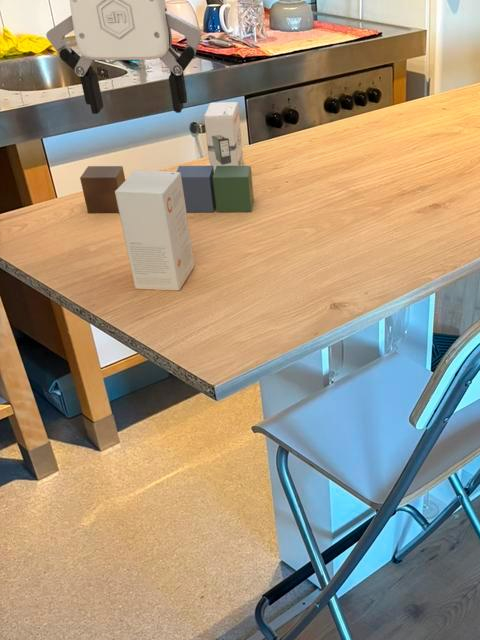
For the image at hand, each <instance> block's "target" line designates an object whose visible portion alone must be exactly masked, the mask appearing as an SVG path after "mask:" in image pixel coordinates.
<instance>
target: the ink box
mask: <svg viewBox="0 0 480 640" xmlns="http://www.w3.org/2000/svg"><path fill="white" fill-rule="evenodd" d="M205 111H206V112H205V113H204V116H203V120H204V128H205V129H204V130H205V137H206V146H207V151H208V152H207V153H208V161H209V166H213V168H214V172H215V169H216V166H245V164H244V153H243V152H244V151H243V143H242V141H243V140H242V131H241V120H240V118H241V117H240V109H239V103H238V102H237V101H227V102H226V101H222V102H221V101H220V102H210V103H209V105H208V107H207V109H206V110H205Z"/></svg>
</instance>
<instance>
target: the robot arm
mask: <svg viewBox="0 0 480 640" xmlns="http://www.w3.org/2000/svg"><path fill="white" fill-rule="evenodd" d="M69 7H70V14H71V15H70V16H68V17H67V18H65V19H64V20H62V21H61V22H59V23H58V24H56V25H55V26H54V27H52V28H50V29H49V30H48V31H47V32H46V34H45V35H46V38H47V40H48V41H49V43H50V44H51V46H52V47H53V48H54V50H55V51H56V52H57V54H58V55H59V58H60V59H61V61H63V62H64V63H65V64H66V65H67V66H69V67H70V68H71V69H72V70H73V71H74V73H75V74H76V76H78V77H79V78H80V81H81V88H82V92H83V96H84V101H85V104H86V105H89V106H90V111H91V114H93V115H98V114H99V113H101V110H102V109H103V108H104V102H103V96H102V91H101V87H100V82H99V76H98V73H97V72H96V70H94V69H93V65H94V64H95V62H96V61H138V60H139V61H141V60H145V61H147V60H157V59H158V60H159V59H160V61H161V62H162V63H163V64H164V65H165V66H166V68H167V69H169V71H170V74H169V76H168V83H169V88H170V89H169V90H170V96H171V101H172V108H173V109H172V110H173V113H174V112H175V113H176V114H180V113H182V110H183V108H184V104H187V103H188V95H187V88H186V81H185V74H184V73H185V72H184V71H185V70H186V68H187V67H188V66H189V64H190V63H191V62H192V61H193V59H194V57H195V56H196V54H197V51H198V47H199V46H200V45H199V44H200V41H201V39H202V36H203V32H202V29H201V28H199V27H198V26H196V25H194V24H192V23H190V22H188V21H187V20H186V19H183V18H181V17H179V16H177V15H175V14H174V13H172V12H170V11H168V7H167V3H166V0H69ZM172 30H173V31H175V32H177V33H179V34H180V35H182V36H184V37H185V38H186V43H185V47H184V50H183V51H182V52H181V54H180V55H179V54H178V53H177V52H176V50H175V49H174V48H173V47H172V45H173V35H172ZM72 31H73V32H74V38H75V42H76V47H77V50H78V52H79V54H80V55H81V56H80V55H79V54H78V53H77V51H75V50H74V49H73V48H72V47H70V46H69V44H68V42H67V40H66V36H67V35H68V34H70V33H71V32H72Z"/></svg>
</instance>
